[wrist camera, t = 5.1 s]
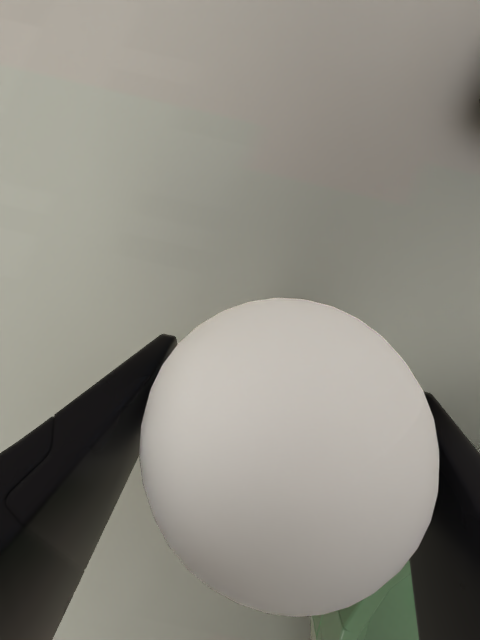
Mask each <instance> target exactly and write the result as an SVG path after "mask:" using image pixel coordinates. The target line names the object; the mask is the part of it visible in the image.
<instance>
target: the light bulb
mask: <svg viewBox="0 0 480 640" xmlns="http://www.w3.org/2000/svg"><path fill="white" fill-rule="evenodd" d="M139 456H140V465H141V473H142V481H143V485H144V488H145V492H146V495H147V498H148V501H149V504H150V507H151V510H152V513H153V516H154V518H155V521H156V523H157V525H158V527H159V529H160V530H161V532H162V534H163V536H164V538H165V540H166V541H167V543H168V545H169V547H170V548H171V549H172V551H173V552H174V553H175V554H176V556H177V557H178V558H179V559H180V560H181V562H182V563H183V564H184V565H185V567H186V568H187V569H188V570H189V571H190V572H191V573H193V574H194V575H195V576H196V577H197V578H199V579H200V580H201V581H202V582H203V583H204V584H206V585H207V586H208V587H209V588H210V589H212V590H214V591H216V592H218V593H219V594H221V595H223V596H225V597H227V598H228V599H230V600H232V601H234V602H236V603H238V604H240V605H243V606H246V607H249V608H252V609H255V610H258V611H262V612H265V613H268V614H275V615H283V616H292V617H301V616H313V615H324V614H327V613H330V612H334V611H337V610H340V609H344V608H347V607H350V606H352V605H354V604H355V603H357V602H359V601H361V600H363V599H365V598H367V597H368V596H370V595H372V594H374V593H375V592H376V591H377V590H379V589H380V588H381V587H382V586H383V585H384V584H386V583H387V582H388V581H389V580H390V579H391V578H393V577H394V576H395V575H396V574H397V573H399V572H400V571H401V569H402V568H403V567H404V565H405V564H406V563H407V561H408V560H409V559H410V558H411V556H412V555H413V554H414V552H415V551H416V550H417V548H418V547H419V545H420V543H421V541H422V538H423V536H424V534H425V532H426V530H427V528H428V526H429V524H430V522H431V519H432V515H433V510H434V506H435V502H436V498H437V494H438V482H439V447H438V441H437V435H436V428H435V422H434V418H433V415H432V413H431V410H430V407H429V405H428V402H427V399H426V397H425V394H424V391H423V390H422V388H421V386H420V385H419V383H418V381H417V380H416V378H415V377H414V375H413V373H412V372H411V370H410V368H409V367H408V365H407V364H406V363H405V361H404V360H403V359H402V357H401V356H400V355H399V354H398V353H397V352H396V351H395V350H394V349H393V347H392V346H391V345H390V344H389V343H388V342H387V341H386V340H385V339H384V338H383V337H382V336H381V335H380V334H379V333H377V332H376V331H375V330H373V329H372V328H370V327H369V326H368V325H366V324H365V323H364V322H362V321H361V320H360V319H358V318H356V317H354V316H352V315H350V314H348V313H346V312H343V311H341V310H339V309H337V308H335V307H333V306H330V305H326V304H322V303H318V302H314V301H310V300H306V299H291V298H271V299H264V300H257V301H250V302H246V303H244V304H241V305H238V306H235V307H232V308H229V309H226V310H224V311H222V312H220V313H218V314H217V315H215V316H213V317H211V318H210V319H208V320H206V321H205V322H203V323H201V324H200V325H198V326H197V327H196V328H195V329H194V330H193V331H192V332H191V333H189V334H188V335H187V336H186V337H185V338H184V339H183V340H182V341H180V342H179V343H178V345H177V346H176V347H175V349H174V350H173V351H172V353H171V354H170V355H169V357H168V358H167V359H166V361H165V362H164V363H163V365H162V367H161V369H160V371H159V373H158V375H157V377H156V379H155V381H154V383H153V385H152V387H151V389H150V393H149V397H148V401H147V404H146V408H145V412H144V416H143V420H142V424H141V435H140V449H139Z"/></svg>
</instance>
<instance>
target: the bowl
mask: <svg viewBox="0 0 480 640" xmlns="http://www.w3.org/2000/svg"><path fill="white" fill-rule="evenodd" d="M310 626H311V640H419V636H418V627H417V619H416V611H415V602H414V594H413V586H412V577H411V569H410V561H409V560H408V561H407V563H406V564H405V565H404V567H403V568H402V569H401V571H400V572H399V573H397V574H396V575H395V576H394V577H393V578H391V579H390V580H389V581H388V582H387V583H386V584H384V585H383V586H382V587H381V588H380V589H379V590H377V591H376V592H375V593H374V594H372V595H370V596H368V597H367V598H365V599H363V600H361V601H359V602H357V603H355V604H354V605H352V606H350V607H347V608H344V609H340V610H337V611H334V612H330V613H327V614H324V615H313V616H310Z"/></svg>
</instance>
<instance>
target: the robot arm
mask: <svg viewBox="0 0 480 640" xmlns="http://www.w3.org/2000/svg"><path fill="white" fill-rule="evenodd" d="M176 346H177V339H176V337H175V336H171V335H167V334H161V335H160V336H158V337H157V338H156V339H154V340H153V341H152V342H150V343H149V344H148V345H146V346H145V347H144V348H142V349H141V350H140V351H138V352H137V353H136V354H134V355H133V356H132V357H130V358H129V359H128V360H126V361H125V362H124V363H122V364H121V365H120V366H118V367H117V368H116V369H114V370H113V371H112V372H110V373H109V374H108V375H106V376H105V377H104V378H102V379H101V380H100V381H98V382H97V383H96V384H95V385H93V386H92V387H91V388H89V389H88V390H87V391H85V392H84V393H83V394H81V395H80V396H79V397H77V398H76V399H75V400H73V401H72V402H71V403H69V404H68V405H67V406H65V407H64V408H63V409H61V410H60V411H59V412H57V413H56V414H55V415H54V417H51V418H49V419H48V420H47V421H45V422H44V423H43V424H41V425H40V426H39V427H37V428H36V429H34V430H33V431H32V432H30V433H29V434H27V435H26V436H25V437H23V438H22V439H21V440H19V441H18V442H16V443H15V444H13V445H12V446H10V447H9V448H7V449H6V450H4V451H3V452H1V453H0V640H52V639H53V637H54V635H55V633H56V631H57V628H58V626H59V624H60V622H61V620H62V618H63V616H64V614H65V611H66V609H67V607H68V605H69V603H70V601H71V599H72V597H73V594H74V592H75V590H76V588H77V586H78V584H79V582H80V580H81V577H82V575H83V573H84V569H85V568H86V567H87V564H88V562H89V560H90V558H91V556H92V554H93V552H94V550H95V547H96V545H97V543H98V541H99V539H100V537H101V535H102V533H103V530H104V528H105V526H106V524H107V522H108V520H109V518H110V516H111V513H112V511H113V509H114V507H115V505H116V503H117V501H118V499H119V497H120V494H121V492H122V490H123V488H124V486H125V484H126V482H127V480H128V477H129V475H130V473H131V471H132V469H133V467H134V465H135V463H136V460H137V458H138V456H139V449H140V435H141V424H142V420H143V416H144V412H145V408H146V404H147V401H148V397H149V393H150V389H151V387H152V385H153V383H154V381H155V379H156V377H157V375H158V373H159V371H160V369H161V367H162V365H163V363H164V362H165V361H166V359H167V358H168V357H169V355H170V354H171V353H172V351H173V350H174V349H175V347H176ZM424 394H425V397H426V399H427V402H428V405H429V407H430V410H431V413H432V415H433V418H434V422H435V428H436V435H437V441H438V447H439V482H438V494H437V498H436V502H435V506H434V510H433V515H432V519H431V522H430V524H429V526H428V528H427V530H426V532H425V534H424V536H423V538H422V541H421V543H420V545H419V547H418V548H417V550H416V551H415V552H414V554H413V555H412V556H411V558H410V559H409V561H410V569H411V577H412V586H413V594H414V602H415V611H416V619H417V627H418V636H419V640H480V454H479V452H478V451H477V450H476V449H475V447H474V446H473V445H472V444H471V442H470V441H469V440H468V439H467V437H466V436H465V435H464V434H463V432H462V431H461V430H460V429H459V427H458V426H457V425H456V424H455V422H454V421H453V420H452V419H451V417H450V416H449V415H448V414H447V413H446V411H445V410H444V409H443V408H442V406H441V405H440V404H439V403H438V401H437V400H436V399H435V398H434V396H433V395H432V394H430V393H428V392H424Z"/></svg>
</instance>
